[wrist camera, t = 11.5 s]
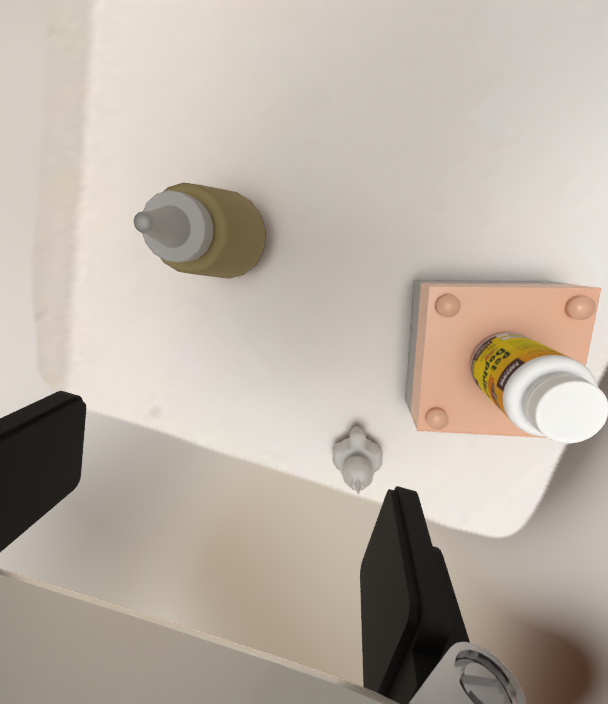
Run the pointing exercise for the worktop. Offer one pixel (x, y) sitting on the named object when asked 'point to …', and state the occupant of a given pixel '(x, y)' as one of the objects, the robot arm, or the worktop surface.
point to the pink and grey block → (474, 328)
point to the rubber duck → (357, 459)
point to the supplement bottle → (539, 388)
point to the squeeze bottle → (203, 230)
